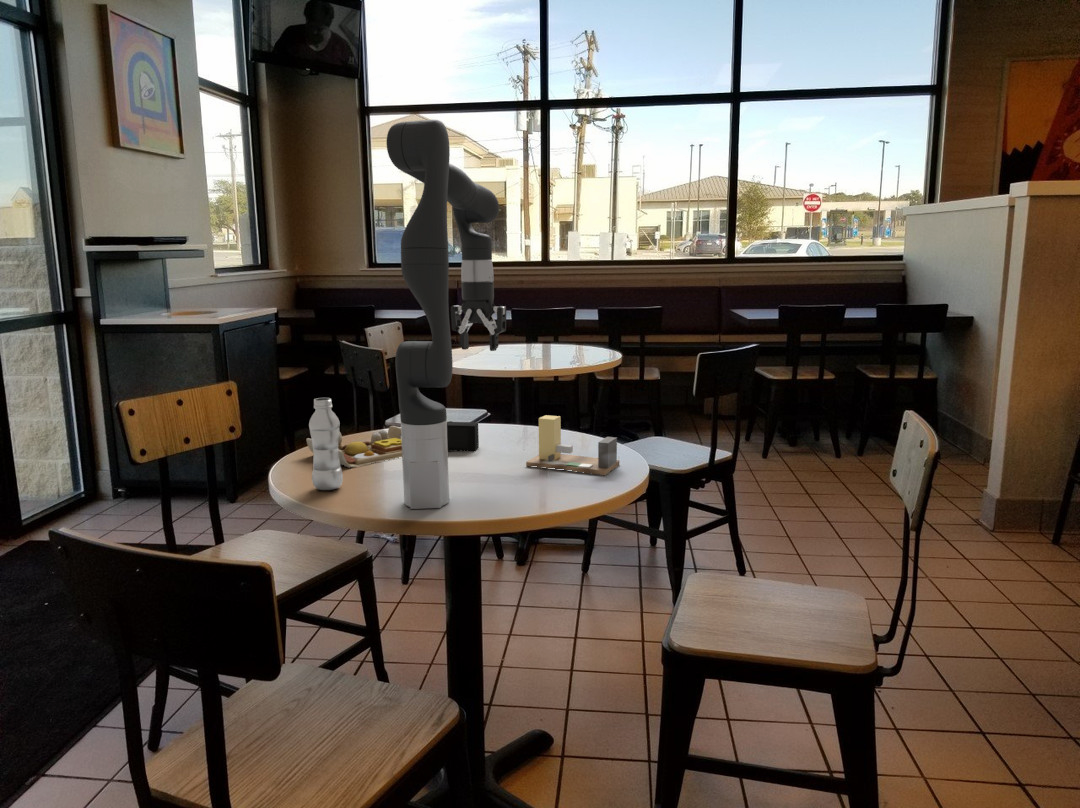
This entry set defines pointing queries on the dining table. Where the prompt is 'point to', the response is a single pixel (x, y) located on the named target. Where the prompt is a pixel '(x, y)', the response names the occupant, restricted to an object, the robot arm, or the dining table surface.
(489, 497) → the dining table surface
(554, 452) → the block
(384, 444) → the toy food set
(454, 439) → the digital camera
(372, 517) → the dining table surface
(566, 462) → the base
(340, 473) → the plastic bottle
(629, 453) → the dining table surface
